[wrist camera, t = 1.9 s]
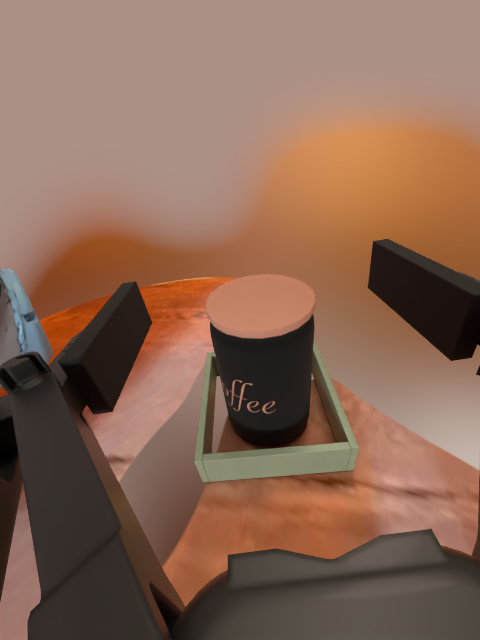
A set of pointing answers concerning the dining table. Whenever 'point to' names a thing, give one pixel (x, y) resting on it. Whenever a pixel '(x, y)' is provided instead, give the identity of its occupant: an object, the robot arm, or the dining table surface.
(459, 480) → the dining table surface
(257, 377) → the coffee jar
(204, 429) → the tray
